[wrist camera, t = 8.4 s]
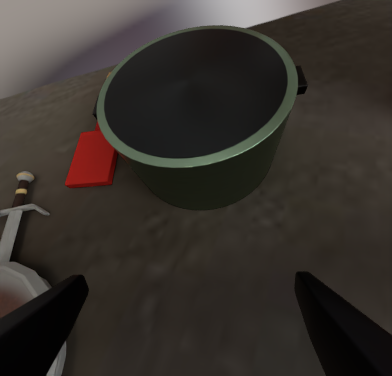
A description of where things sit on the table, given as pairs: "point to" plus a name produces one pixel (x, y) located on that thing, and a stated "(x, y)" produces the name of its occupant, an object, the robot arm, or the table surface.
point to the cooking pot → (200, 112)
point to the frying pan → (21, 266)
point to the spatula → (92, 161)
